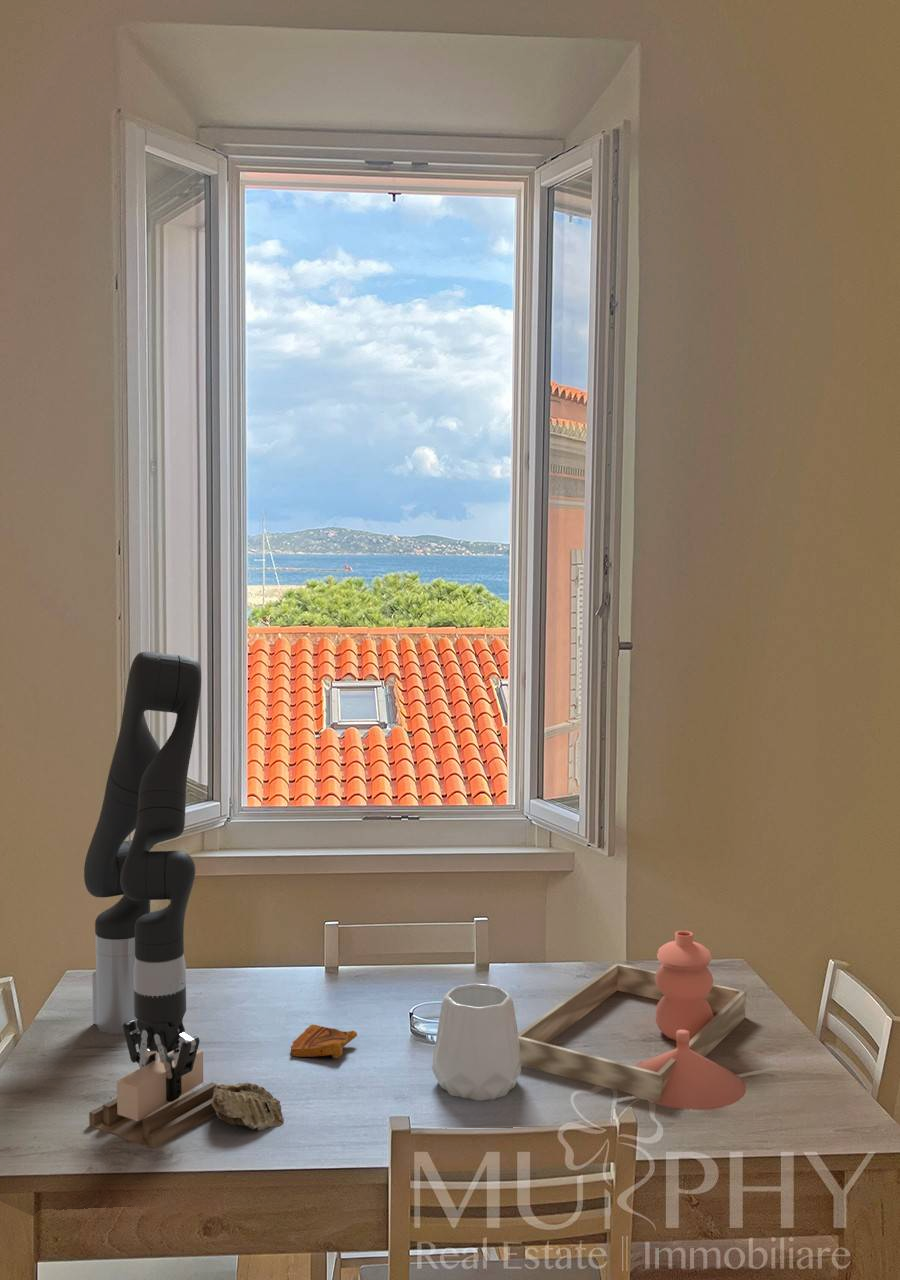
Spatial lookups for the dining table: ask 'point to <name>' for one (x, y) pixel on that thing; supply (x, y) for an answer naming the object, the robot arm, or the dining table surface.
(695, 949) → the ceramic vessels
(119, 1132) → the tray
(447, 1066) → the vase
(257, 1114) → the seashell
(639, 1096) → the vessel tray frame
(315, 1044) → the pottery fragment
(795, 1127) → the dining table surface
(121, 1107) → the peach rectangular block
